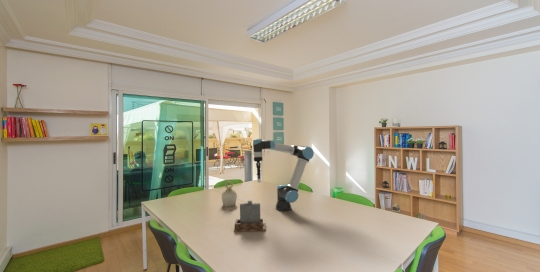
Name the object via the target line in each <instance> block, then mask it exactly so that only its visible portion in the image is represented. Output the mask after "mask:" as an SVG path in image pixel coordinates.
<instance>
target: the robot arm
mask: <svg viewBox="0 0 540 272" xmlns="http://www.w3.org/2000/svg"><path fill="white" fill-rule="evenodd" d="M252 147H253V152H252V154H253V161H254V162H256V163H255V166H256V178H257V183H262V179H261V178H262V177H261V165H262V164H261V162H262V161H263V150H270V151H275V152H280V153H285V154H289V155H290V156H294V157H296V158H297V162H296V164H295V166H294V169H293V173H292V175H291V178H290V180H289V183H288V184H279V185H277V188H276V190H277V191H276V192H277V196H276V197H277V201H276V204H275V209H276V210H277V211H281V212H286V211H287V212H288V211H291V210H292V205H291V204H293V203H295V202H297V200H298V199H299V186H300V185H299V184H300V182H301V180H302V177H303V174H304V171H305V168H306V165H307V163H309V162H310V160H311V159H313V158H314V154H315V152H314V149H313V148H312V147H311V146H308V145H306V146H305V145H293V144H292V145H288V144H283V143H278V142H275V140H273V139H272V140H271V139H270V140H269V139H268V140H266V139H265V140H264V139H262V138H254V139H253V140H252Z"/></svg>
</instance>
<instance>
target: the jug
mask: <svg viewBox="0 0 540 272" xmlns="http://www.w3.org/2000/svg"><path fill="white" fill-rule="evenodd" d="M227 184H230V185H229V186H228V185H227ZM224 186H225V188H226V189H225V190H224V191H223V192H222V193H221V200H222V201H221V202H222V206H223V207H226V208H230V207H234V206H236V203H237V199H238V198H237V197H238V195H237V192H236V190H234V189H233V186H234V184H233V182H232V181H231V180H228V181H226V182H225V184H224Z"/></svg>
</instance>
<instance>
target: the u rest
mask: <svg viewBox="0 0 540 272" xmlns="http://www.w3.org/2000/svg"><path fill="white" fill-rule="evenodd" d="M260 222H261V223H240V218H236V219H235V222H234V228H233V233H238V232H239V233H240V232H241V233H243V232H244V233H245V232H266V226H267V225H266V222H264V218H260Z"/></svg>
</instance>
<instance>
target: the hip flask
mask: <svg viewBox="0 0 540 272" xmlns="http://www.w3.org/2000/svg"><path fill="white" fill-rule="evenodd" d="M239 219H240V223H261V222H260V219H261V203H260V202H257V203H255V202H254V203H253V200H247V202H245V203H239Z"/></svg>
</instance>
